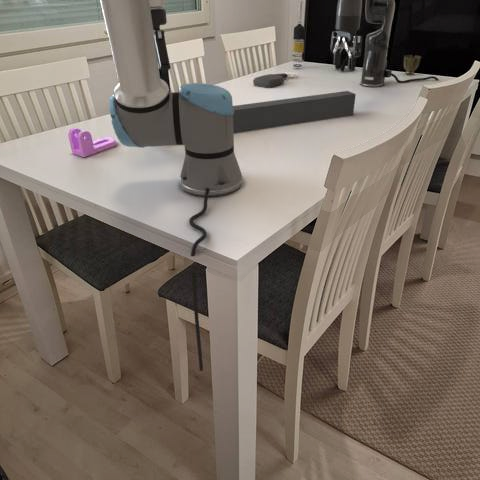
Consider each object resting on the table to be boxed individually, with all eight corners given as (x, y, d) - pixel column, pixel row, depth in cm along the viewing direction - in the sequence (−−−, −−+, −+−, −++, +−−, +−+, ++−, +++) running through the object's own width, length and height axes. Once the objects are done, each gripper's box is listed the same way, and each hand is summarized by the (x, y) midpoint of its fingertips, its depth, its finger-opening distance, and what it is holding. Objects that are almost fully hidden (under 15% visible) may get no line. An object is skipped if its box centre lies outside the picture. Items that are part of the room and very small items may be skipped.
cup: (399, 75, 209) (402, 56, 205) (402, 71, 214) (405, 54, 210) (416, 76, 206) (419, 57, 202) (418, 73, 211) (422, 55, 207)
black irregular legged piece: (345, 81, 223) (323, 62, 226) (359, 67, 223) (338, 48, 225) (346, 70, 212) (324, 50, 215) (362, 55, 211) (339, 35, 214)
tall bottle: (304, 68, 225) (308, 1, 209) (295, 69, 223) (298, 2, 207) (299, 66, 229) (303, 0, 213) (289, 67, 227) (292, 1, 211)
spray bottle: (250, 85, 197) (282, 75, 213) (270, 88, 191) (301, 78, 207) (250, 78, 195) (282, 69, 211) (271, 81, 189) (302, 72, 206)
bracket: (84, 157, 126) (79, 133, 123) (72, 153, 129) (66, 129, 126) (119, 144, 135) (116, 121, 131) (108, 140, 138) (104, 118, 134)
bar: (153, 145, 134) (150, 121, 130) (149, 140, 138) (146, 117, 134) (353, 115, 157) (355, 93, 153) (345, 111, 161) (347, 90, 157)
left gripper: (177, 10, 110) (184, 98, 120) (154, 6, 130) (162, 82, 140) (147, 11, 107) (157, 101, 118) (128, 7, 127) (138, 84, 138)
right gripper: (372, 14, 136) (365, 70, 145) (346, 10, 147) (341, 62, 156) (351, 16, 133) (346, 73, 142) (326, 12, 145) (322, 64, 153)
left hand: (160, 91), depth 129 cm, fingers open, 13 cm apart
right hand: (343, 67), depth 149 cm, fingers open, 8 cm apart
